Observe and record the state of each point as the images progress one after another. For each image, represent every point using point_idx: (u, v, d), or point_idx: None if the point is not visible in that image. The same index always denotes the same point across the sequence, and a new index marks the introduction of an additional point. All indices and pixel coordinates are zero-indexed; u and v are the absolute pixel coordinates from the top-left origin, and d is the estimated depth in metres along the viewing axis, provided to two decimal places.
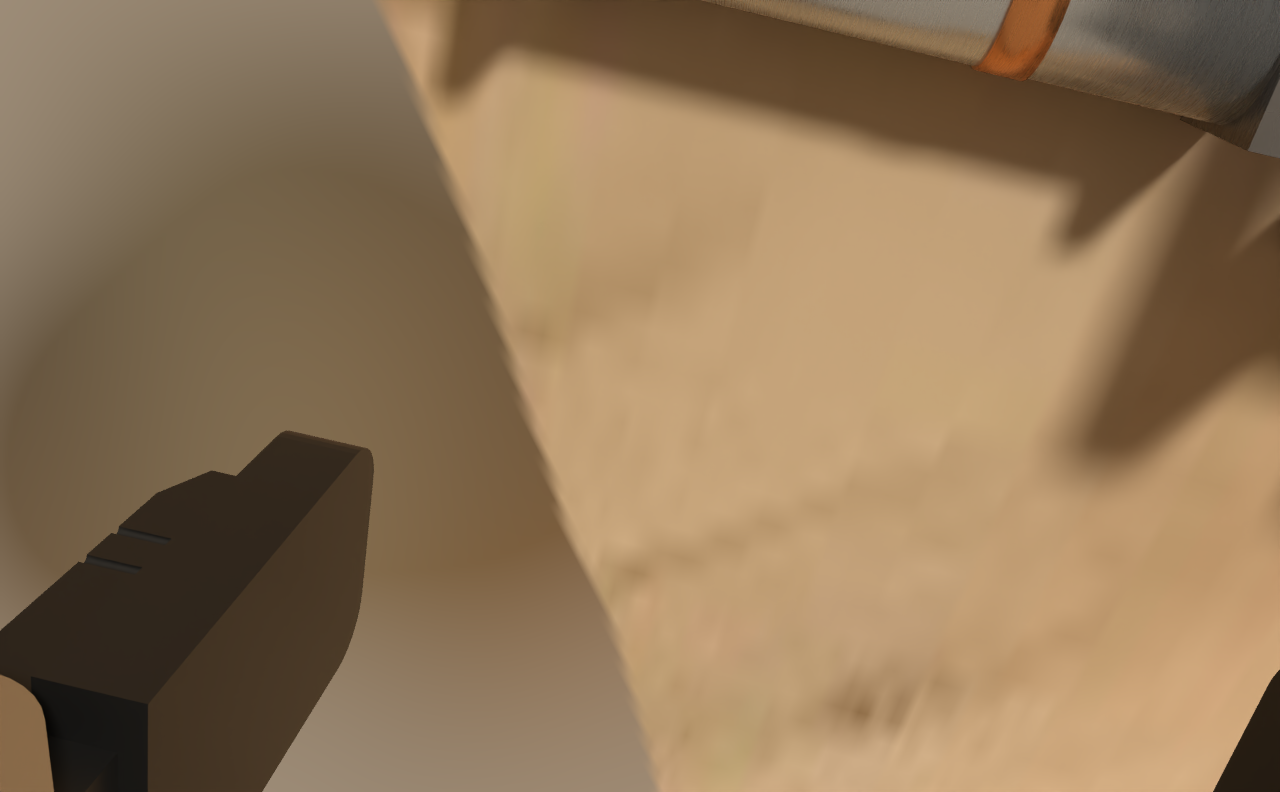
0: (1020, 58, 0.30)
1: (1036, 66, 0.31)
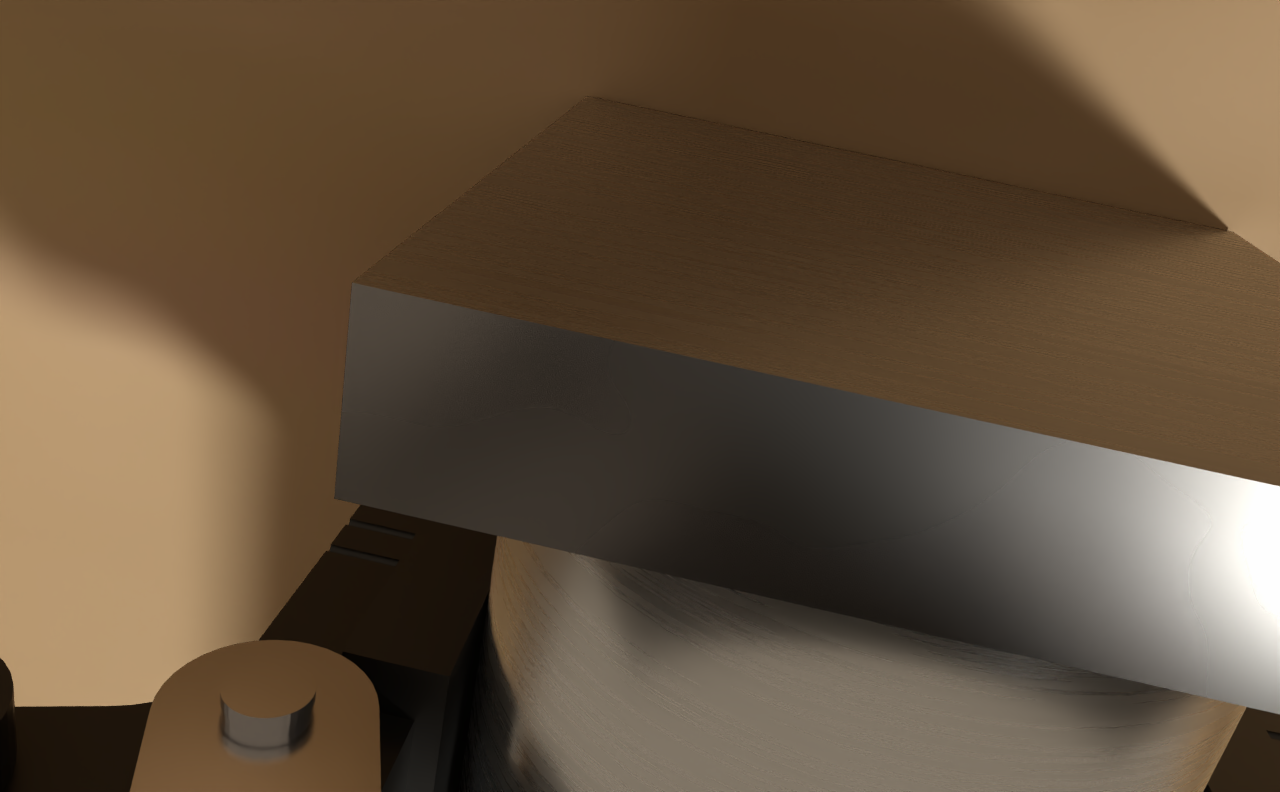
0: None
1: None
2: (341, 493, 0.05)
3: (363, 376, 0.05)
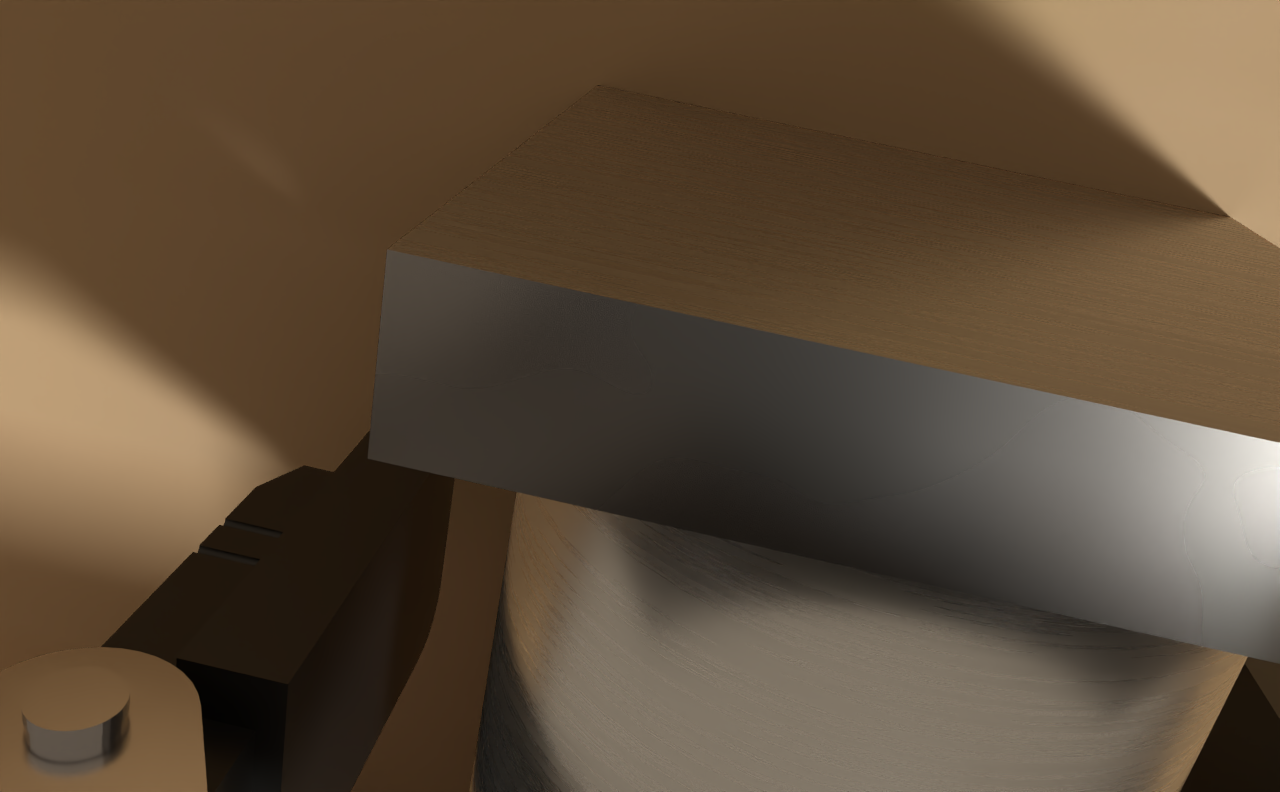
0: None
1: None
2: (373, 457, 0.05)
3: (397, 340, 0.05)
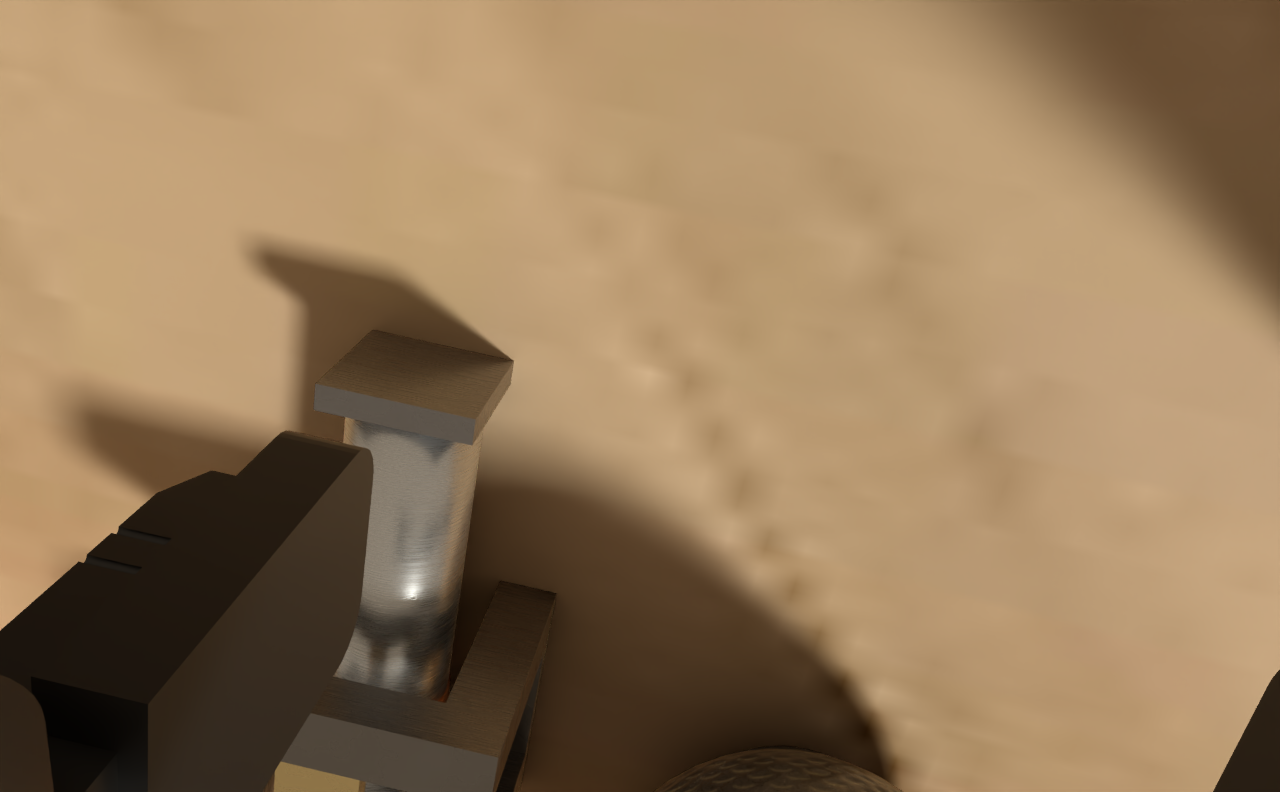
0: None
1: None
2: (314, 409, 0.38)
3: (317, 394, 0.37)
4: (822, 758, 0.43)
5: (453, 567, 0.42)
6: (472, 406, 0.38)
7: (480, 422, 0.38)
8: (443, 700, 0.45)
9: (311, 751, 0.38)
